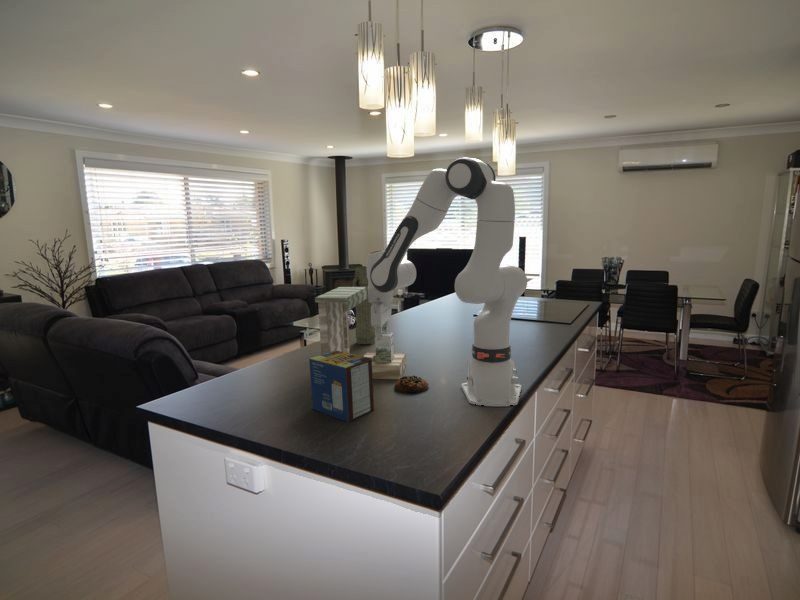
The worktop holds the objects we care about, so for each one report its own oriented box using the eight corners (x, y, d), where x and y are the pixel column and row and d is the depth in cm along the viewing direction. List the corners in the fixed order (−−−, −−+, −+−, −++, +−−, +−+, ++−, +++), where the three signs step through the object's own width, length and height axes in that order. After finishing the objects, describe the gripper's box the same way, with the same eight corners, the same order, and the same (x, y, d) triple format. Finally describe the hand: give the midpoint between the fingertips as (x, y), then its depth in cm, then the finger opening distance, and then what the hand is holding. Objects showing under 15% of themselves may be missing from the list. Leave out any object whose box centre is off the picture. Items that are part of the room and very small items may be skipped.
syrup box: (394, 370, 165) (393, 331, 162) (391, 375, 159) (390, 335, 157) (379, 369, 166) (378, 331, 163) (376, 374, 160) (374, 335, 158)
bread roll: (399, 395, 139) (399, 379, 139) (390, 389, 149) (390, 374, 149) (433, 393, 142) (433, 377, 142) (422, 386, 152) (422, 371, 152)
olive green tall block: (349, 344, 204) (346, 267, 198) (366, 338, 213) (363, 265, 208) (365, 346, 199) (362, 268, 193) (381, 341, 208) (378, 265, 203)
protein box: (337, 398, 138) (335, 349, 136) (374, 410, 128) (372, 357, 126) (311, 409, 130) (308, 357, 128) (348, 422, 120) (345, 367, 118)
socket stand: (396, 385, 148) (394, 297, 143) (319, 383, 152) (314, 297, 147) (408, 361, 175) (406, 286, 171) (342, 360, 179) (339, 286, 175)
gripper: (383, 300, 148) (385, 341, 150) (393, 292, 168) (395, 329, 170) (365, 300, 149) (367, 341, 151) (377, 293, 169) (379, 329, 171)
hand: (382, 334), depth 160 cm, fingers open, 8 cm apart
